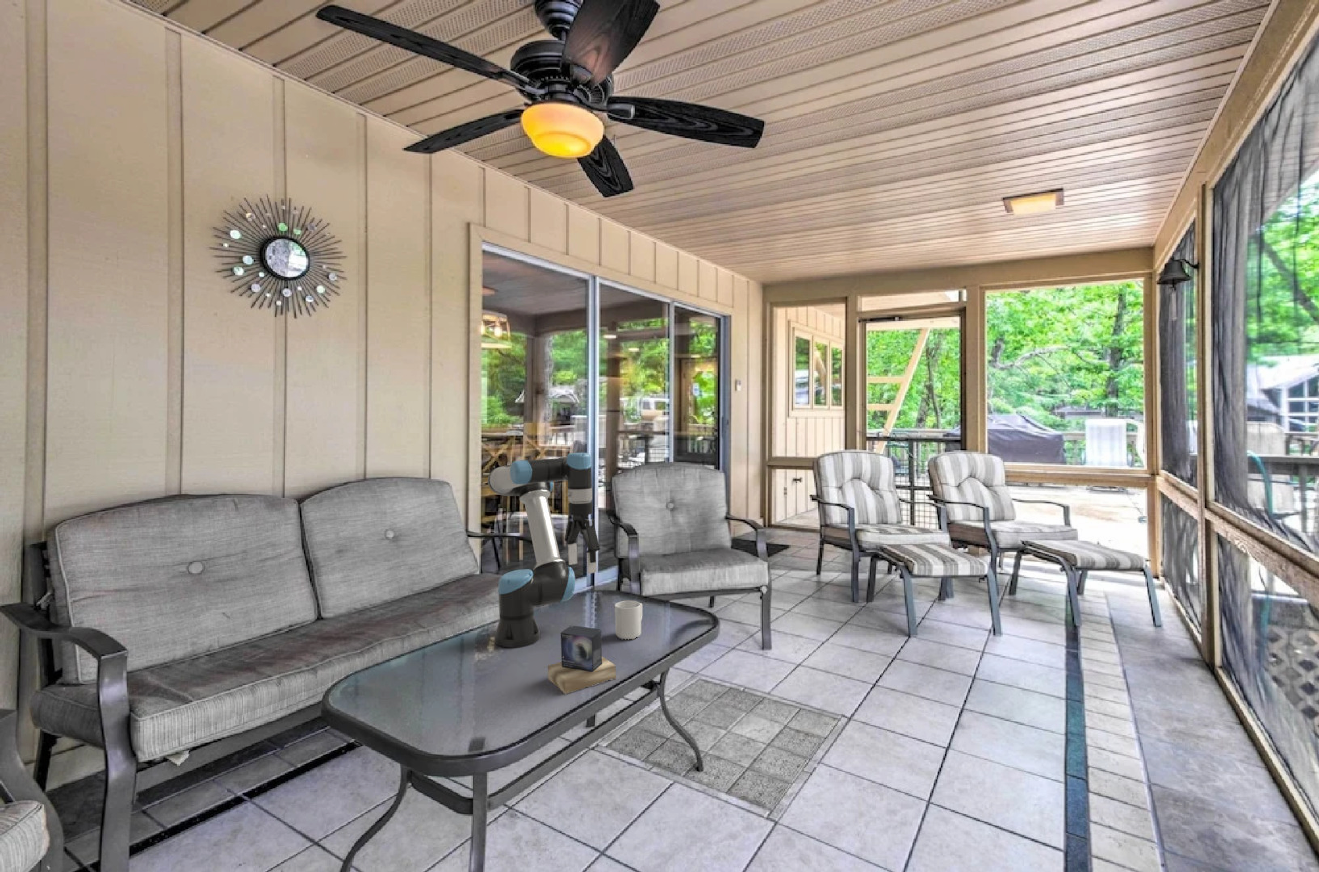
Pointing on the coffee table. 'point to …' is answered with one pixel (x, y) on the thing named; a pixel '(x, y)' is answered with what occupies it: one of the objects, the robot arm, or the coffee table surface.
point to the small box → (581, 648)
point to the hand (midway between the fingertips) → (582, 568)
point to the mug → (628, 619)
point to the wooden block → (580, 676)
